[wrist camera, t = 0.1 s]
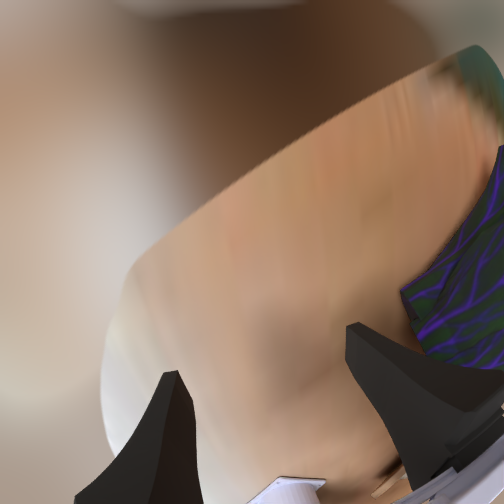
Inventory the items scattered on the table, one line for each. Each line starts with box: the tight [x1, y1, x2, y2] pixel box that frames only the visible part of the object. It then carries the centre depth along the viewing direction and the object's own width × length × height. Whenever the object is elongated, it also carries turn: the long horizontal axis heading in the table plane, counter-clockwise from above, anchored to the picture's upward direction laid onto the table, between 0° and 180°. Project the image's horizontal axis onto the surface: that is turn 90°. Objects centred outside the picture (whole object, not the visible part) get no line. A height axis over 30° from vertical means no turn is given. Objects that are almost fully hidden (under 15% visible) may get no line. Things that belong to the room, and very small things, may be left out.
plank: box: [371, 463, 406, 499], centre depth 28 cm, size 10×8×1 cm
